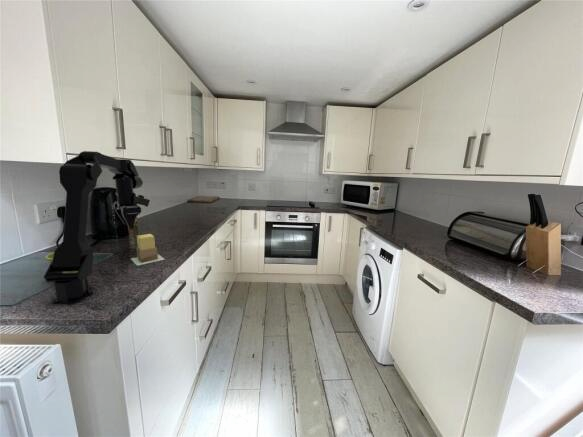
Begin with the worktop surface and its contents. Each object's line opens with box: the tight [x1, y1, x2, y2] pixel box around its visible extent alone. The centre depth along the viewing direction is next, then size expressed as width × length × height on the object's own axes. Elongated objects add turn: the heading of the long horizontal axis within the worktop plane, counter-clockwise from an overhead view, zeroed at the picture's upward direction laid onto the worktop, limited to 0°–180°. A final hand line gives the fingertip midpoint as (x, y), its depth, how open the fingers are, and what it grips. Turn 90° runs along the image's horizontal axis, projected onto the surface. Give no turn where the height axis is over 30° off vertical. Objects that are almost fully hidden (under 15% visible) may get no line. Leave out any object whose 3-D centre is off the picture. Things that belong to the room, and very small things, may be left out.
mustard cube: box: [136, 233, 156, 250], centre depth 96 cm, size 5×5×5 cm
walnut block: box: [136, 246, 158, 263], centre depth 97 cm, size 6×6×5 cm
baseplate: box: [130, 254, 165, 266], centre depth 98 cm, size 10×10×1 cm
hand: (128, 226), depth 100 cm, fingers open, 9 cm apart
